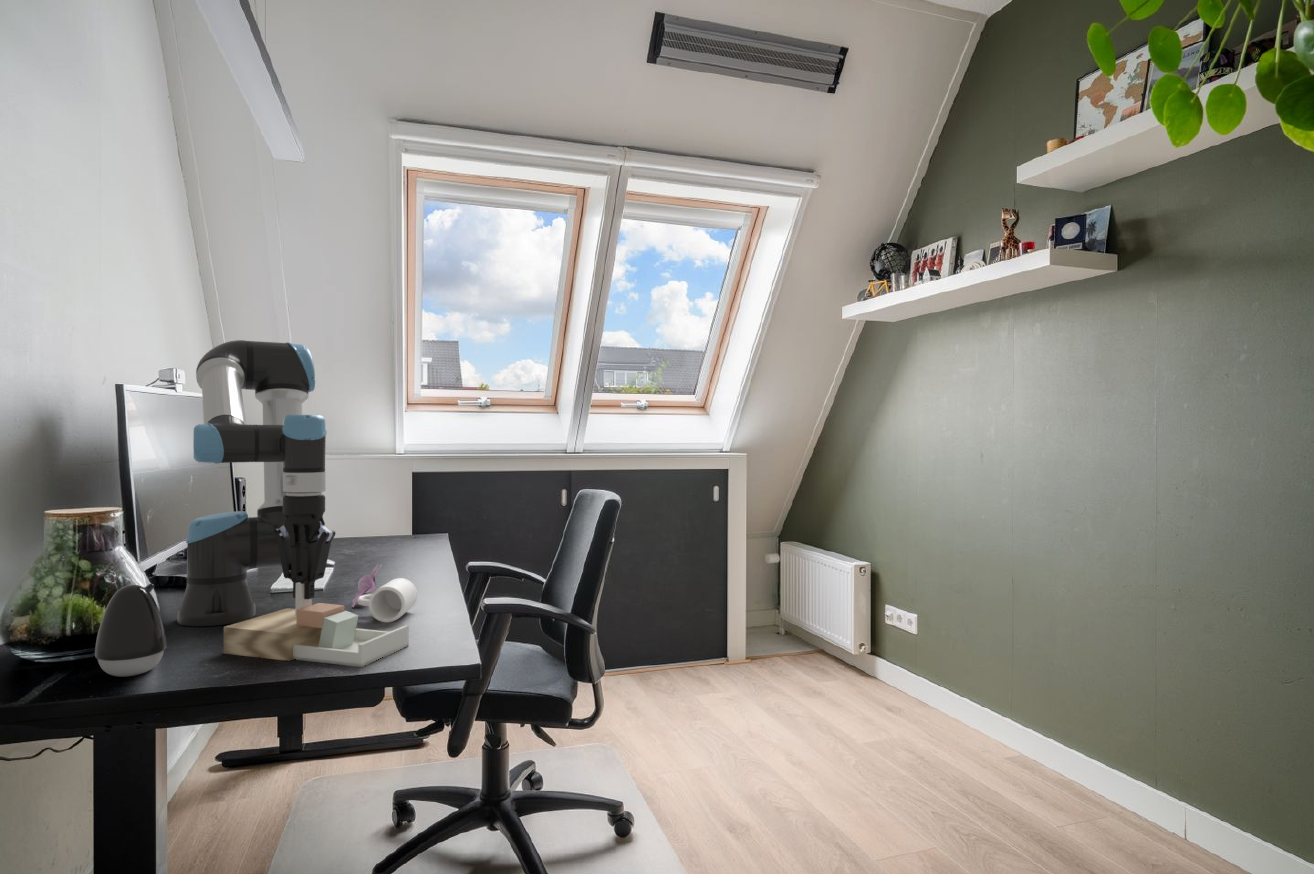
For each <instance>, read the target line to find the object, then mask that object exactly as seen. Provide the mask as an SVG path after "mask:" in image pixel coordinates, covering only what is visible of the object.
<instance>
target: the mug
mask: <svg viewBox="0 0 1314 874" xmlns="http://www.w3.org/2000/svg"><path fill="white" fill-rule="evenodd" d="M417 600H418V590H417V588H416V585H415V584H414V582H412V581H410V580H409V579H407V578H403V577H401V578H400V577H399V578H397V577H396V578H393V579H392V580H390V581H388V582H387V583H385V584H383V585H382V586H380V587H378V588H376V590H375V591H372V592H371V593H367V594H364V595H362V596H360V597H359V598H358V600H357V602H356V604H358V605H360V606H363V607H368V611H369V612H370V615H371V616H372V617H373V618H374V619H375V620H377V621H378V622H381V623H393V622H395V621H397V620H398V619H400V618H401V617H402V616H403V615H405V614H406V613H407V612H409V611H410V610H411V609H412V608H413V607H414V606H415V604H416V602H417Z"/></svg>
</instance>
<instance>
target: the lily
mask: <svg viewBox="0 0 1314 874" xmlns="http://www.w3.org/2000/svg"><path fill="white" fill-rule="evenodd" d="M382 566H383V563H381V564H379V563H377V564H376V566H375V567H373V570H371V573H370V574H365V575H363V576H362V577H361V578H360V579H359V580H358V583H357V589H358V592H357V593H356V594H355V596H354V598H353V599H352V601H351V603H352V605H351V608H352V607H353V608H354V607H355V606H356V604H357V600H358V598H359V597H360V596H362V595H367V594H370V593H373V592H374V591H375V590H377V587H376V574H377V572H378V571H379V570H380V569H381V567H382Z"/></svg>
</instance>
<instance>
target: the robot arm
mask: <svg viewBox="0 0 1314 874" xmlns="http://www.w3.org/2000/svg"><path fill="white" fill-rule="evenodd" d="M315 372H316V371H315V364H314V359H313V356H312V353H311V351H310V350H309V348H308V347H307V346H306V345H303V344H298V343H291V342H274V341H256V340H255V341H254V340H242V339H237V340H232V341H225V342H223V343H221V344H219V345H217V346H214V347H212V348H211V349H210V350H208V351H207V352H206V353H205V354H204V355H203V356H202V357H201V359H200V360H199V361H198V364H197V365H196V370H195V378H196V383H197V385H198V387H199V388H200V389H201V392H202V413H203V415H202V416H203V423H201V424H196V425H195V426H194V427H193V434H192V435H193V437H192V439H193V444H192V445H193V458H194V460H195V461H196V462H197V463H208V464H209V463H211V464H212V463H213V464H216V465H218V464H224V463H225V464H227V463H228V464H229V463H263V481H264V482H263V485H264V486H263V491H264V492H263V493H264V495H263V496H264V501H263V503H262V504H261V505H260V506H259V507H258V508H257V511H256V515H257V516H255V517H254V516H253V517H251V516H249V514H248V512H246V510H245V511H243V510H237V511H228V512H227V511H226V512H220V513H219V512H218V513H215V514H208V515H205V516H201V517H197V518H194V519H192V520H191V521H190V522H189V523H188V525H187V533H186V534H187V535H186V537H187V538H186V540H185V543H186V544H187V548H186V549H187V552H186V553H187V556H186V559H187V560H186V566H187V567H186V588H185V591H184V594H183V597H182V601H181V604H180V608H178V611H177V615H176V616H177V620H176V621H177V624H179V625H182V626H186V627H187V626H188V627H215V626H222V625H229V624H230V625H231V624H235V623H239V622H242V621H246V620H249V619H252V618H255V616H256V608H257V607H256V603H255V601H253V596H252V592H251V589H250V587H249V583H248V570H250V569H262V568H263V569H264V568H278V567H281V569H282V574H283V577H284V579H289V580H291V582H292V597H293V599H295V608H294V609H295V617H297V609H300V608H304V607H307V606H310V605H313V599H315V582H316V581H317V580H320V579H323V578H325V573H326V567H327V564H328V558H329V554H330V548H331V546H332V545H331V544H332V541H333V539H334V538H335V536H336V531H335V530H333V529H331V530H330V529H329V528H327V527H326V525H325V523H326V522H325V520H324V517H323V516H324V514H325V512H326V496H325V495H324V494H323V493H325V492H326V437H327V436H326V435H327V430H326V429H327V428H326V419H325V417H324V416H323V415H320V414H303V403H304V402H306V400H308V399H309V393H311V392H313V391H314V390H315V389H316V388H315V387H316V377H315V376H316V373H315ZM242 390H251V391H252V390H253V391H255V392H254V396H255V399H256V400H257V401H258V402H260V403H261V404H262V424H247V423H246V422H247V420H246V413H245V405H244V399H243V391H242Z"/></svg>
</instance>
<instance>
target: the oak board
mask: <svg viewBox="0 0 1314 874" xmlns="http://www.w3.org/2000/svg"><path fill="white" fill-rule="evenodd" d="M296 622H297V617H295V608H290V607H288V608H283V609H279V610H277V611H274V612H273V611H272V612H270V613H266V614H263V615H259V616H257V617H252V618H250V619H247V620H244V621H240V622H235V623H231V624H230V625H229V624H228V625H226V626H224V627H223V654H224V655H225V654H226V655H232V656H233V655H235V656H244V657H250V658H251V657H252V658H253V657H254V658H259V657H260V658H261V659H269V660H270V659H271V660H277V661H286V660H287V661H288V662H289V661H293V660H294V659H293V646H294V645H304V646H313V647H318V646H319V641H320V636H321V631H322V628H316V627H307V626H298V625H296ZM260 658H259V659H260Z"/></svg>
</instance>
